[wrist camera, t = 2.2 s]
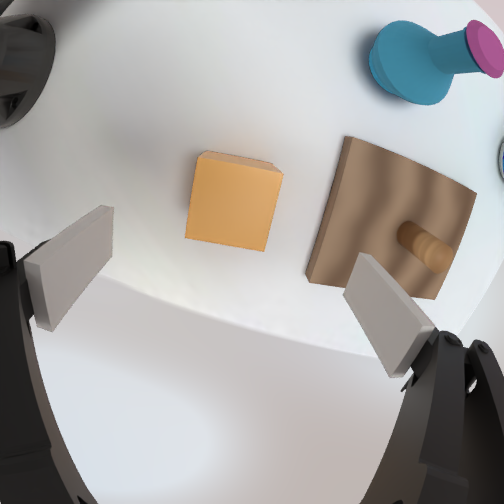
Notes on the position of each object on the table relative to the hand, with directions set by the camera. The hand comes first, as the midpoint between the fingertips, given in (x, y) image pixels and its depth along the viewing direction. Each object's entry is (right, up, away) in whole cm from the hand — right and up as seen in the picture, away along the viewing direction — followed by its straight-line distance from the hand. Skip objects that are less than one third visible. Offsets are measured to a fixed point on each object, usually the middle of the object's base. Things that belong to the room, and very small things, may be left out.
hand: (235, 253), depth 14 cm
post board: (+18, +3, +17) cm, 25 cm away
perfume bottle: (+16, +20, +9) cm, 28 cm away
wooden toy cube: (-1, +6, +14) cm, 15 cm away
